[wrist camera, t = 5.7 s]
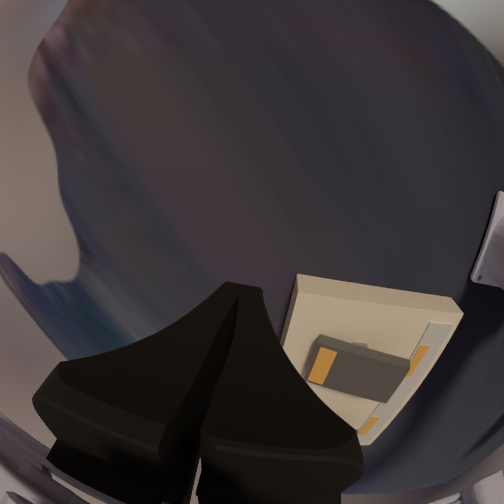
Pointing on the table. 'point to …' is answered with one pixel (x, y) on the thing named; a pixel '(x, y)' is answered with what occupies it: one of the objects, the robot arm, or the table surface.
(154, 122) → the table surface
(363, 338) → the switch console
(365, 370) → the block
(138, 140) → the table surface
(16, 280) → the table surface
